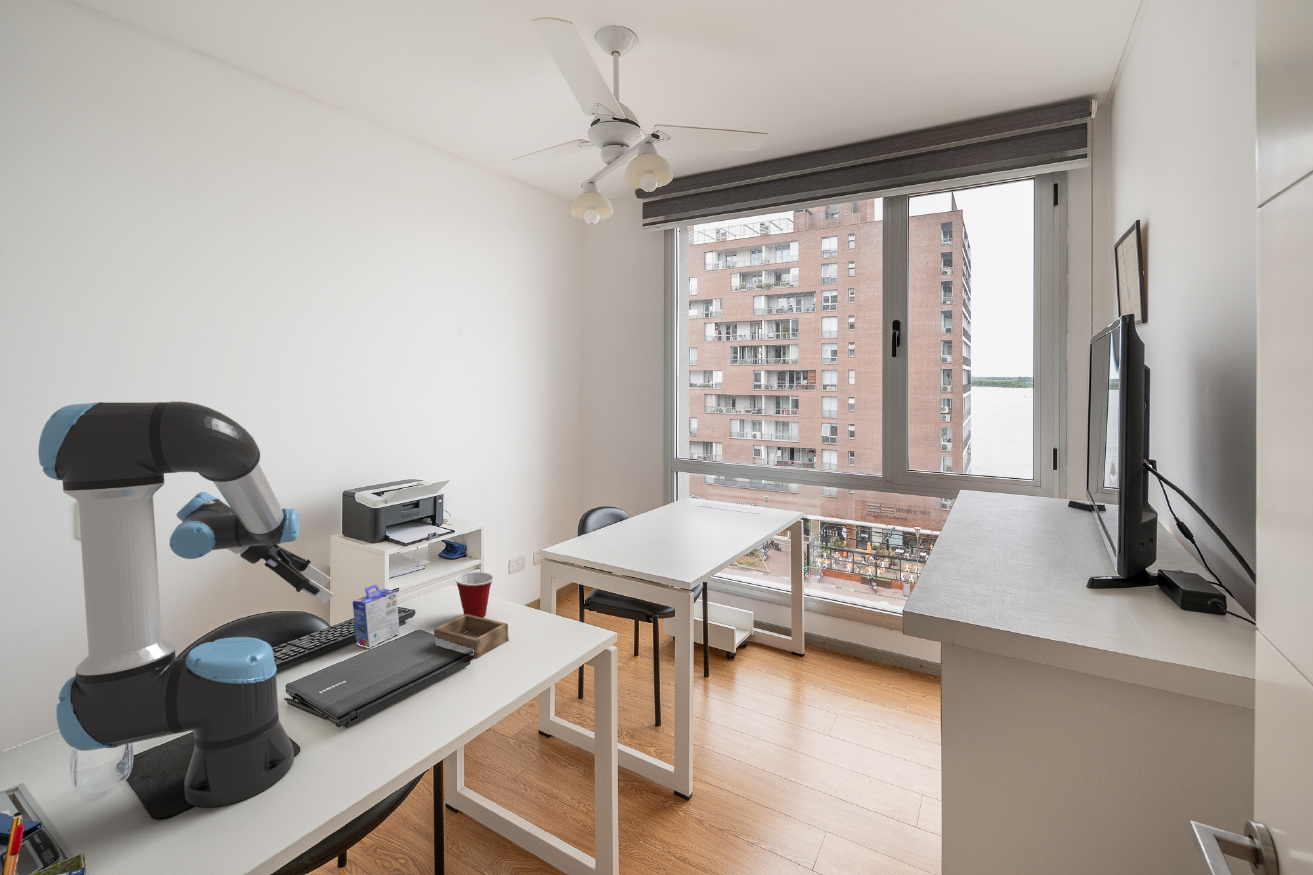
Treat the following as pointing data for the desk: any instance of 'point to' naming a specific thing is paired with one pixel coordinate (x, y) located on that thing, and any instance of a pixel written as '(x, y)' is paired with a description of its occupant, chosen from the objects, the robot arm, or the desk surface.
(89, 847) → the desk surface
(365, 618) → the ink cartridge box
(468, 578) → the plastic cup
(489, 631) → the open wooden box
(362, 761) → the desk surface
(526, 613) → the desk surface
